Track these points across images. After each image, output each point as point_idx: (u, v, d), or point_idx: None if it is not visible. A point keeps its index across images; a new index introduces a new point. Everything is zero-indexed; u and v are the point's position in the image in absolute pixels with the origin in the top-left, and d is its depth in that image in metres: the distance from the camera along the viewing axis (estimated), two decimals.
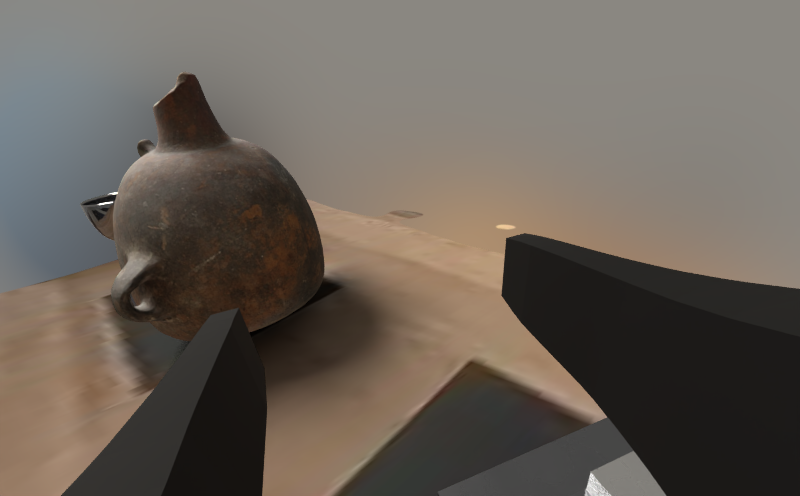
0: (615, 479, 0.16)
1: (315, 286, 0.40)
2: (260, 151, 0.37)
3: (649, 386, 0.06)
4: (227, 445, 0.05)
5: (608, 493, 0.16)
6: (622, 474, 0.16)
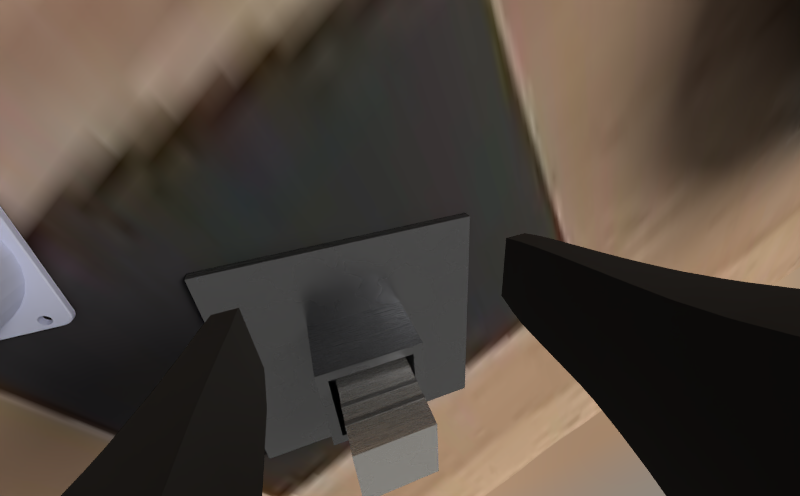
0: (423, 439, 0.16)
1: None
2: None
3: (649, 386, 0.06)
4: (227, 445, 0.05)
5: (415, 430, 0.15)
6: (424, 445, 0.16)
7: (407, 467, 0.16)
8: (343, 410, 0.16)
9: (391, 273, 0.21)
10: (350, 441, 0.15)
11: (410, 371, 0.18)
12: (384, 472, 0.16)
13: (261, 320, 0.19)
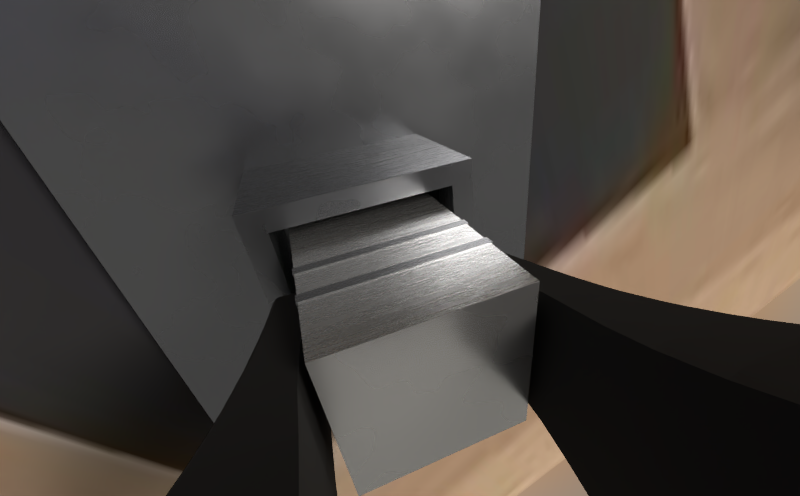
0: (502, 328, 0.06)
1: None
2: None
3: (587, 413, 0.06)
4: (314, 414, 0.06)
5: (483, 298, 0.06)
6: (504, 347, 0.06)
7: (459, 408, 0.07)
8: (297, 279, 0.07)
9: (397, 62, 0.11)
10: (304, 331, 0.05)
11: (449, 213, 0.08)
12: (402, 417, 0.06)
13: (142, 143, 0.10)
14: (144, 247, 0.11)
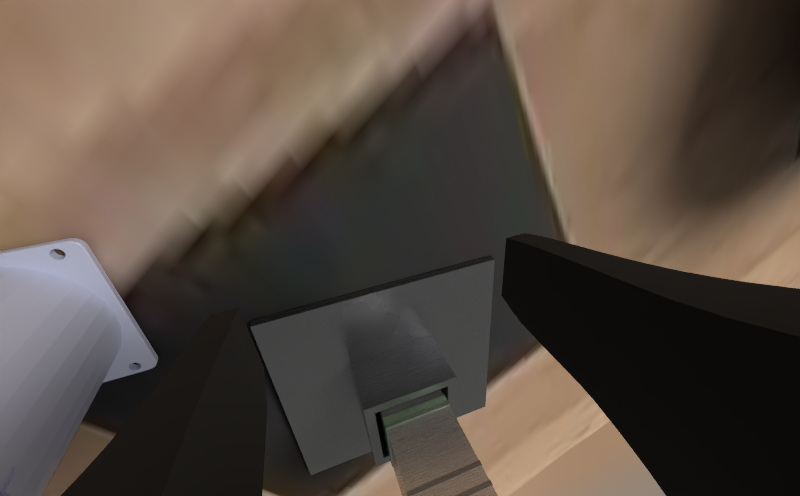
0: None
1: None
2: None
3: (649, 386, 0.06)
4: (227, 445, 0.05)
5: None
6: None
7: None
8: None
9: (424, 311, 0.23)
10: None
11: (472, 451, 0.18)
12: None
13: (311, 357, 0.22)
14: (300, 394, 0.23)
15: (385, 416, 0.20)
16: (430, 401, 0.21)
